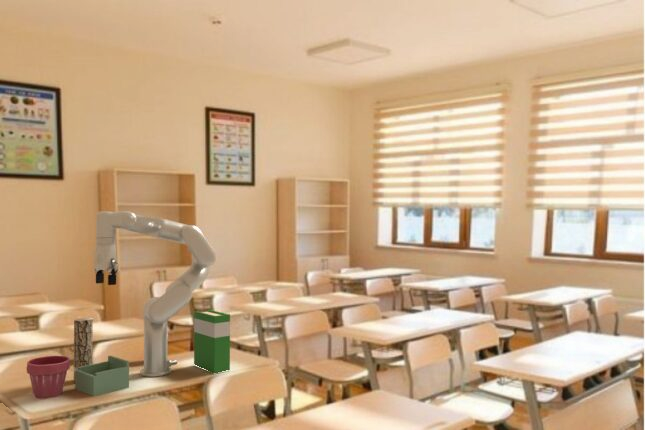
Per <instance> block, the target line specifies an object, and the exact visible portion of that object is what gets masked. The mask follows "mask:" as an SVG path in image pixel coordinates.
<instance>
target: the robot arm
mask: <svg viewBox="0 0 645 430" xmlns="http://www.w3.org/2000/svg"><path fill="white" fill-rule="evenodd" d="M95 219H96V221H95V224H96V226H95V228H96V232H95V233H96V235H95V238H96V239H95V240H96V241H95V243H96V244H95V250H94V256H93V257H94V261H93V268H94V270H95V272H94V273H95V284H104V282H105V281H104V280H105V273H104V271H107V272H108V274H107V285H108V286H115V285H117V274H118V269H119V263H118V262H117V261H118V259H117V248H116V246H117V229H121V230H125V231H129V232H134V233H138V234H143V235H146V236H149V237H152V238H157V239H161V240H165V241H169V242H174V243H178V244H182V245H186V247H187V248H188V250H189V251H190V253H191V265H190V267H188V269H187V270H186V271H185V272H184V273H183V274H181V275H180V276H179V277H178V278H177V279H175V280H174V281H173V282H171V283H169V285H168V286H167V287H166V288H165V292H164V293H163V294H162V295H161V296H159V297H158V296H157V297H156V296H154V297H150V298H149V299H147V300H146V301H145V303H144V305H143V309H142V316H143V369H141V370H140V371H139V375H140V376H142V377H148V378H149V377H152V378H153V377H154V378H155V377H162V376H165V375H169V374H170V373H171V372H172V369H171V366H177V365H178V361H177V360H176V359H175V360H168V337H167V335H169V334H168V332H169V331H168V330H169V329H168V320H170V319H171V318H172V317H174V316H175V315H176V314H177V313H178V312H180V311H181V310H182V309H183V308H184V307H186V306H187V305H188V304H189V302H191V300H192V298H193V292H195V290H196V289H198V288H199V287H200V286H201V285H202V284H203V283H204V281H206V280H207V278H208V275H209V273H210V269H211V267H212V266H213V265H214V264H215V262H216V260H217V255H216V251H215V250H214V248H213V247H212V245H211V244H210V243H209V241H208V239H207V238H206V237H205V235H204V233H203V232H202V231H201V229H200V228H199V227H198V226H196V225H194V224H190V225H189V224H185V223H182V222H178V221H173V220H170V219H166V218H160V217H150V216H145V215H144V216H143V215H140V214H136V213H134V212H132V211H129V210H124V211H116V212H115V211H108V210H107V211H104V210H103V211H98V212H96V218H95Z"/></svg>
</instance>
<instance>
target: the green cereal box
mask: <svg viewBox="0 0 645 430" xmlns="http://www.w3.org/2000/svg"><path fill="white" fill-rule="evenodd" d="M193 312H194V313H193V316H194V317H193V319H194V320H193V321H194V322H193V328H194V329H193V338H194V339H193V365H194V364H195V365H197V366H199V367H201V368H204V369H206V370H208V371H210V372H209V373H211V372H212V373H211V374H213V373H217V374H219V373H218V372H222V371H226V370H231V314H230V313H225V312H221V311H217V310H212V309H207V310H206V311H202V312H201V311H197V310H196V311H193ZM201 368H200V369H201ZM206 370H205V371H206ZM208 371H207V372H208ZM222 373H223V372H222Z"/></svg>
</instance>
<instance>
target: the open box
mask: <svg viewBox="0 0 645 430" xmlns="http://www.w3.org/2000/svg"><path fill="white" fill-rule="evenodd" d="M74 382H75V383H74V384H75V390H77V391H79V392H82V393H84V394H86V395H90V396H92V397H97V396H101V395H104V394H109V393H112V392H115V391H116V392H117V391H120V390H124V389H125V390H126V389H128V388H130V361H129V360H126V359H123V358H121V357H116V356H113V355H108V356H107V361H103V362H97V363H92V364H91V365H86V366H82V367H78V370H76V377H75V381H74Z"/></svg>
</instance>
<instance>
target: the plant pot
mask: <svg viewBox="0 0 645 430" xmlns="http://www.w3.org/2000/svg"><path fill="white" fill-rule="evenodd" d="M70 369H71V360H70V357H69V356H66V355H47V356H40V357H35V358H31V359H29V360H28V361H27V364H26V374H27V375H28V374H29V379H30V384H31V388H32V391H33V392H32V393H33V396H34V398H35V399H40V400H44V399H53V398H57V397H59V396H61V395H62V393H63V389H64V386H65V382H66V378H67V373H68V371H69V370H70Z"/></svg>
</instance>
